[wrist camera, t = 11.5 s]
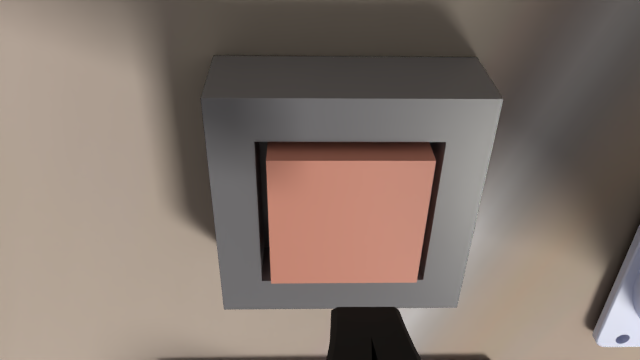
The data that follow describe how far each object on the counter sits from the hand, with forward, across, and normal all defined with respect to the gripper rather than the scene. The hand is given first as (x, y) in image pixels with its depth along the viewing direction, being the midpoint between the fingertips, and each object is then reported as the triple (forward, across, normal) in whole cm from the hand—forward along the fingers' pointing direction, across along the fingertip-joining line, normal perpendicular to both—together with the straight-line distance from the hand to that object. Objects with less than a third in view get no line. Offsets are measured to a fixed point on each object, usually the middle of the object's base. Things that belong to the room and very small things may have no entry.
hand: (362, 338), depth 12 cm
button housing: (+7, 0, 0) cm, 7 cm away
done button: (+5, 0, 0) cm, 6 cm away
